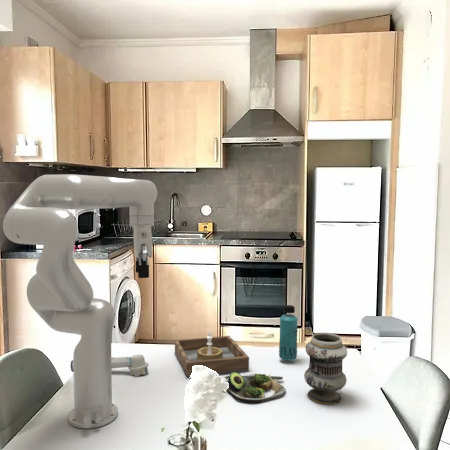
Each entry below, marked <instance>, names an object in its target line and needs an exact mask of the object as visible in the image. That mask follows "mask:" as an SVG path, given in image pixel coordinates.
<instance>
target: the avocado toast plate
mask: <svg viewBox="0 0 450 450" xmlns="http://www.w3.org/2000/svg"><path fill="white" fill-rule="evenodd" d="M223 378H225V380H224V382H228V383H229V388H228V389H227V391H226V392H227V393H228V395H230V396H231V397H232V398H233V399H235V401H238V402H240V403H244V404H258V403H259V404H260V403H261V402H262V403H263V402H265V401H266V402H267V401H270V400H272V399H275V398H277V397H280V396H281V395H283V394H284V393H285V392H286V388H285V386H284V385H283V384H281V383H279V381H282V380H284V376H278V375H277V376H275V375H271V374H268V375H267V374H265V373H251V374H246V375H242V374H241V373H237V372H232V373H231V374H229V375H225V376H224V377H223ZM266 391H273V394H272V395H270V396H267V397H265V392H266Z"/></svg>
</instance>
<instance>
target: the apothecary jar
mask: <svg viewBox="0 0 450 450" xmlns="http://www.w3.org/2000/svg"><path fill="white" fill-rule="evenodd" d="M305 352H306V354H307V355H308V356H309V364H308V368H307V369H306V370H305V372H304V375H303V377H304V381H305V383H306V384H307V385H308V386H309V387H311V389H310V390H309V391H308V392H307V397H308V398H309V399H310V400H311V401H312V402H314V403H317V404H321V405H334V404H336V403H338V404H339V403H340V402H341V401H342V400H343V397H342V395H341V394H340V392H338V391H340V390H342V389H343V388H344V387H345V386H346V384H347V376H346V374H345V373H344V371H343V360H344V359H345V358H346V357H347V356H348V349H347V347H346V345H344V344H343V340H342V337H341V336H340V335H338V334H335V333H331V332H316V333H313V334H312V335H311V340H309V342H307V344H306V345H305Z"/></svg>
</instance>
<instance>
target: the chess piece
mask: <svg viewBox="0 0 450 450" xmlns="http://www.w3.org/2000/svg"><path fill="white" fill-rule="evenodd" d="M206 334H207V336H206V338H207V340H208V343H207V345H208V351H207V354H208V355H210V354H212V351H211V345H212V343H211V341H212V337H213V336H212V335H213V333H211V331H210V330H209V331H208V332H207V333H206Z"/></svg>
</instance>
